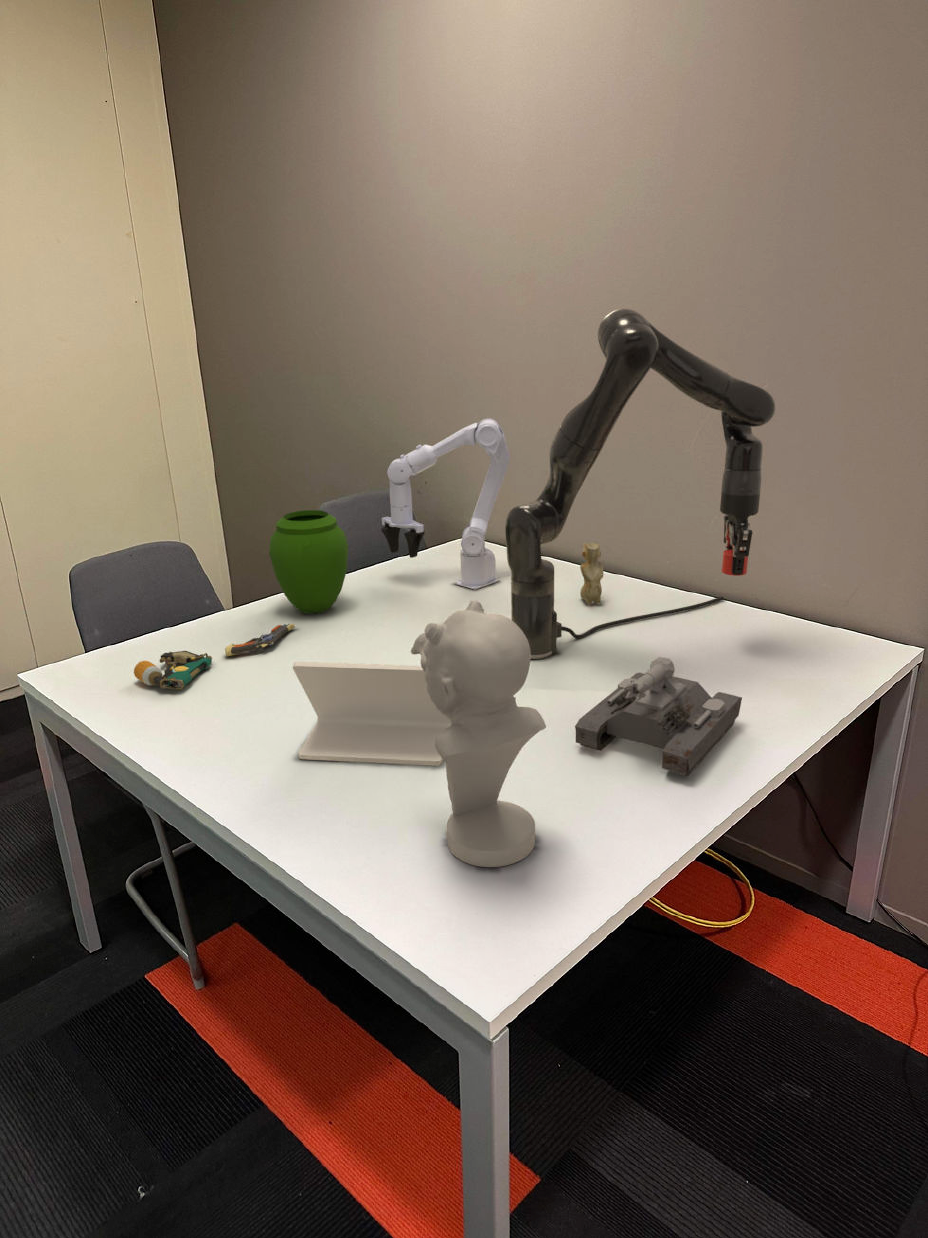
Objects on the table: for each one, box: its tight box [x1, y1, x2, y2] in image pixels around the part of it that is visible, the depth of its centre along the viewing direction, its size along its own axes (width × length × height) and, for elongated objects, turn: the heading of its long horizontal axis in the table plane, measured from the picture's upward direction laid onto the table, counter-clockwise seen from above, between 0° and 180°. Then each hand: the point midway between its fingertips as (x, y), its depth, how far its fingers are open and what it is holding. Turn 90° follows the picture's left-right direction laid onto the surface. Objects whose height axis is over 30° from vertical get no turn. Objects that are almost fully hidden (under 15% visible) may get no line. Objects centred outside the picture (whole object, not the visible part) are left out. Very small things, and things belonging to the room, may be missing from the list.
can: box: [721, 549, 749, 577], centre depth 178 cm, size 5×5×4 cm
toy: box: [574, 656, 743, 777], centre depth 148 cm, size 25×20×15 cm
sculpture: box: [579, 542, 604, 605], centre depth 214 cm, size 6×7×15 cm
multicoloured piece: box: [133, 650, 213, 690], centre depth 180 cm, size 4×17×15 cm
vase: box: [268, 509, 349, 615], centre depth 213 cm, size 20×20×24 cm
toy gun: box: [224, 623, 296, 657], centre depth 196 cm, size 3×19×10 cm
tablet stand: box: [292, 661, 451, 766], centre depth 150 cm, size 18×25×17 cm
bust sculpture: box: [410, 599, 547, 868], centre depth 121 cm, size 16×24×35 cm
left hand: (403, 554), depth 231 cm, fingers open, 7 cm apart
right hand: (733, 569), depth 179 cm, fingers closed on can, 5 cm apart
